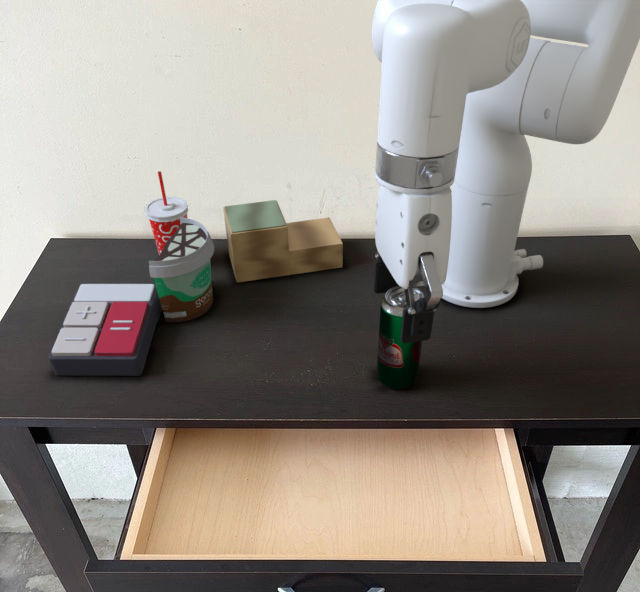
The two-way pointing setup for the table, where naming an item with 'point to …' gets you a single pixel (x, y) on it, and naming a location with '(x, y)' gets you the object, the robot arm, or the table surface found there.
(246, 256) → the riser
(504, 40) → the robot arm
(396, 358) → the soda can
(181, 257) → the food container
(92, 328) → the calculator
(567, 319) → the table surface
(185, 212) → the beverage cup
